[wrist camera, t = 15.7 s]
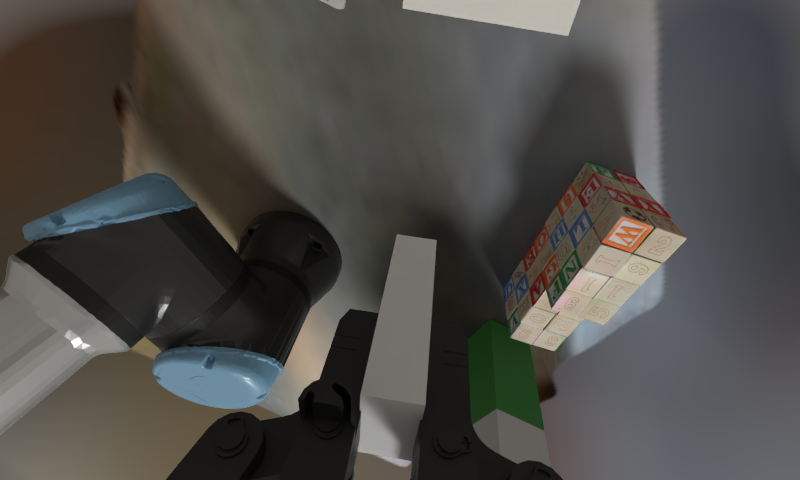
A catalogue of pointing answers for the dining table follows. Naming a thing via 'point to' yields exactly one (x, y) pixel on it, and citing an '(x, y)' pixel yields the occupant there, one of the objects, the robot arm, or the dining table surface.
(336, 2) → the smartphone
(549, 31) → the hole board
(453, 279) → the dining table surface
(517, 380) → the hardback book
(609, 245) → the stack of blocks
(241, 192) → the dining table surface
